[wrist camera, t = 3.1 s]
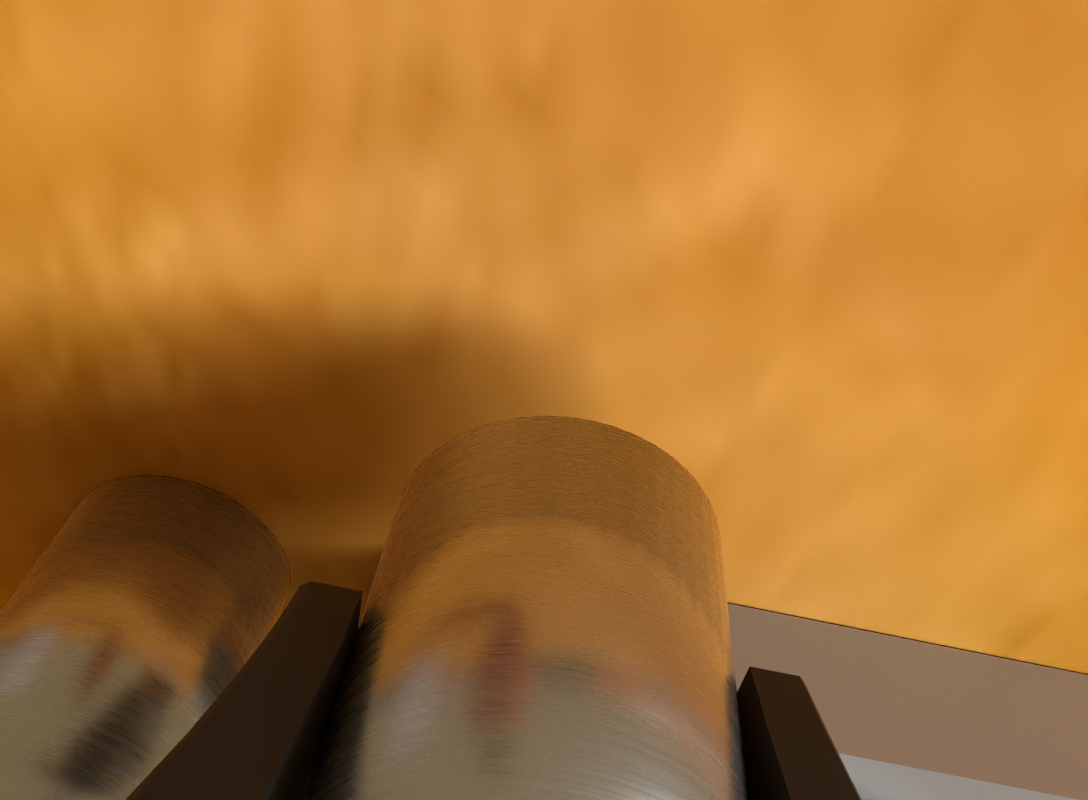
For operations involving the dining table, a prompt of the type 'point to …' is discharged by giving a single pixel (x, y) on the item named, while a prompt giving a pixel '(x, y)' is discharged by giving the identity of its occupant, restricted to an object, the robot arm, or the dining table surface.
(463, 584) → the steel weight
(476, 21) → the dining table surface
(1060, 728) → the kitchen scale
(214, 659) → the steel weight
